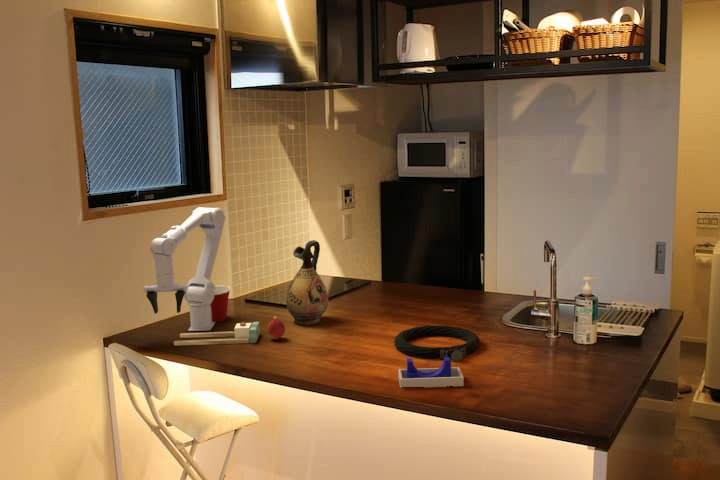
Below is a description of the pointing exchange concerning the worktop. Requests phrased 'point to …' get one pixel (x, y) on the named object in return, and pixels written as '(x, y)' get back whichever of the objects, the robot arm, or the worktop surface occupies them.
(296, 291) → the ceramic jug
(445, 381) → the shallow grey tray
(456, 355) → the cable lock
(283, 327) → the onion
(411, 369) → the blue saddle holder
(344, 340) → the worktop surface
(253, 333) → the guide rail
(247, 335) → the block
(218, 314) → the plastic cup
